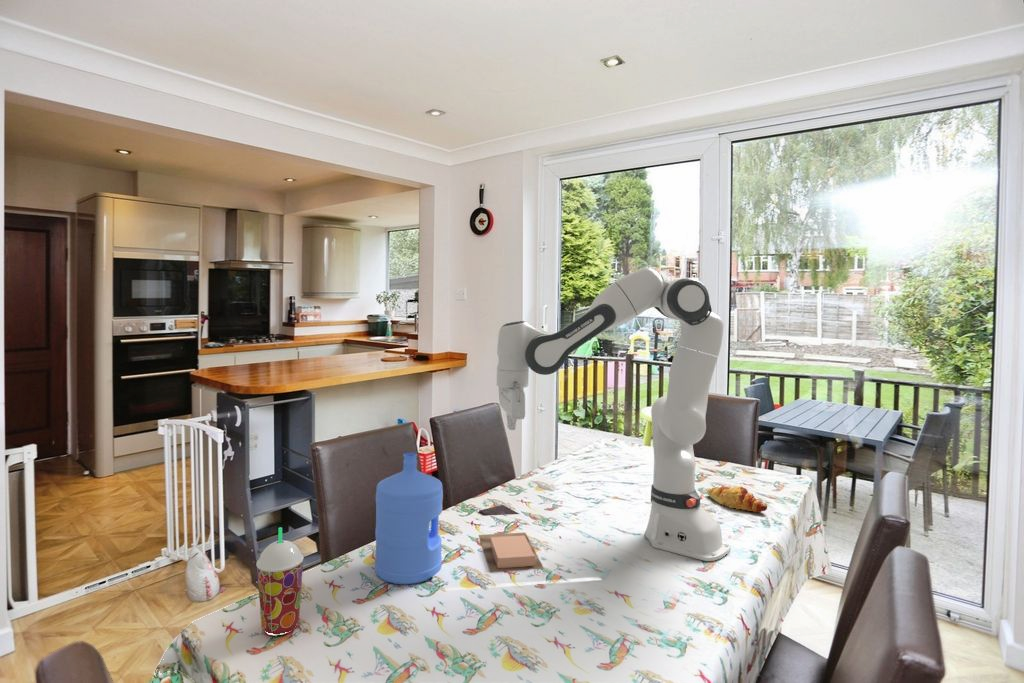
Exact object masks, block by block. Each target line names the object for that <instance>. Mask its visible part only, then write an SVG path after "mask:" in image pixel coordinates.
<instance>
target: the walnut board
mask: <svg viewBox="0 0 1024 683" xmlns="http://www.w3.org/2000/svg"><path fill="white" fill-rule="evenodd" d="M523 535H525V537H526V539H527V541H528V543H529V545H530V547H531V549H532V551H533V553H534V555H535V566H525V567H510V568H498V567H497V564H496V562H495V559H494V556H493V553H492V550H491V547H490V538H491V537H504V536H523ZM478 538H479V541H480V544H481V547H482V550H483V553H484V557H485V560H486V563H487V566H488V569H489V572H490V573H493V572H494V573H495V572H512V571H524V570H540V569H541V570H542V569H544V566H543V564H542V562H541V560H540V559H539V556H538V554H537V553H536V550H535V549H534V546H533V544H532V543H531V541H530V539H529V537H528V534H527V533H526V532H511V533H510V532H509V533H508V532H507V533H491V534H490V533H489V534H478Z"/></svg>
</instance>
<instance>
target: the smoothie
mask: <svg viewBox="0 0 1024 683" xmlns="http://www.w3.org/2000/svg"><path fill="white" fill-rule="evenodd" d="M277 531H278V532H277V534H278V540H277V541H273V542H272V543H270V544H269V545H267V546H266V547H265V548H264V549H263V551H262V552H261V554H260V556H259V558H258V560H257V561H256V566H255V567H257V568H256V569H257V570H256V571H257V572H256V573H257V585H258V598H259V609H260V610H259V612H260V624H261V625H260V626H261V628H262V629H263V631H264V630H265V631H266V632H268V633H273V634H280V633H285V632H289V631H291V630H293V629H294V628H295V626H296V627H297V625H296V624H299V621H300V617H301V616H300V612H301V601H302V597H301V596H302V586H303V585H302V581H303V567H304V554H303V553H302V552H301V550H300V548H299V547H298V546H297V545H296V544H295V543H294V542H292V541H290V540H286V539H285V540H284V539H283V527H278V530H277ZM295 629H296V628H295ZM295 629H294V630H295ZM294 630H293V631H294ZM265 631H264V632H265Z"/></svg>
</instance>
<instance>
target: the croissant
mask: <svg viewBox="0 0 1024 683" xmlns="http://www.w3.org/2000/svg"><path fill="white" fill-rule="evenodd" d="M706 492H707V495H708V496H709V497H710V498H711V499H712V500H713V501H715V502H716V503H718V504H719V505H721V504H722V505H721V506H724V505H726V506H725V507H728V506H730V507H732V508H731V509H733V508H736V509H735V510H739V509H742V510H741V511H745V510H748V511H747V512H749V511H753V512H752V513H762V512H766V510H767V509H768V505H767V504H766V503H765V504H764V503H763V502H762V501H761V500H760V499H757V498H756V497H755V496H754V494H753V493H751V492H749V491H748V489H747V488H746V487H744V486H741V485H737V486H732V487H731V486H730V487H729V486H721V487H715V486H714V487H712V488H708V489H707V490H706ZM730 507H729V508H730Z"/></svg>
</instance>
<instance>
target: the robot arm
mask: <svg viewBox="0 0 1024 683" xmlns="http://www.w3.org/2000/svg"><path fill="white" fill-rule="evenodd" d="M651 308H654V309H655V310H657V311H658V312H659V313H660V314H661V315H662V316H664V317H665V318H669V319H671V320H672V319H673V320H676V321H678V322H679V324H680V336H679V338H678V342H677V345H676V348H675V351H674V355H673V358H672V361H671V364H670V368H669V371H668V386H667V392H666V395H663V396H660V397H659V398H657V399H656V400H655V401H654V402H653V403H652V406H651V410H650V411H651V412H650V413H651V428H652V429H651V430H652V432H651V433H652V434H651V435H652V436H651V437H652V447H653V478H652V480H653V481H652V484H651V488H650V489H651V490H650V503H651V504H650V512H649V518H648V523H647V526H646V528H645V533H644V536H645V537H646V539H647V540H648V541H649V542H650V546H651V547H653V548H656V549H660V550H663V551H666V552H670V553H674V554H678V555H681V556H686V557H689V558H692V559H696V560H697V559H698V560H701V561H704V562H712V561H713V562H714V561H717V560H720V559H723V558H724V557H725V555H726V554H727V555H728V554H729V553H730V552H729V551H731V544H730V542H728V541H727V540H724V539H723V536H722V535H723V534H722V529H721V525H720V524H719V522H718V521H717V520H716V519H715V518H714V517H712V515H711V514H710V513H709V512H707V510H706V509H705V508H704V507H703V506H702V505H701V500H703V499H704V497H703V496H704V494H703V493H702V494H700V495H699V494H698V493H697V490H696V488H695V483H696V482H695V481H696V464H697V460H696V456H695V453H694V445H695V444H697V443H699V442H700V441H701V440H702V439H703V438H704V436H705V434H706V431H707V423H706V422H707V421H706V415H707V408H708V403H709V402H708V400H709V392H710V386H711V382H712V380H713V379H712V378H713V375H714V372H715V368H716V365H717V362H718V358H719V355H720V351H721V348H722V343H723V337H724V328H725V327H724V326H725V325H724V322H723V319H722V318H721V317H720V316H719V315H717V314H716V313H715V312H712V311H713V309H712V306H711V302H710V294H709V291H708V289H707V287H706V285H704V284H703V283H702V282H701V281H700V280H698V279H695V278H691V277H685V278H684V277H683V278H676V279H673V280H669V281H667V280H664V279H663V278H662V276H661V275H660V274H659V273H658V271H656V270H655V269H653V268H651V267H641V268H639V269H637V270H635V271H633V272H630V273H628V274H626V275H624V276H622V277H621V278H619V279H617V280H616V281H614V282H613V283H611V284H610V285H609V286H607V287H606V288H604V289H603V290H602V291H601V292H600V293H598V295H597V296H596V297H595V298H594V299H593V301H592V303H591V305H590V307H589V308H588V309H587V310H586V311H585V313H583V314H582V315H581V316H580V317H578V318H577V319H575V320H574V321H572V322H571V323H570V324H568V325H567V326H565V327H563V328H562V329H560V330H559V331H557V332H554V333H552V334H549V333H547V332H543V331H541V330H539V329H537V328H535V327H533V326H532V325H531V324H529V323H528V322H527V321H525V320H520V321H513V322H509V323H508V322H507V323H505V324H503V325H502V326H501V327H500V328H499V331H498V337H497V350H496V351H497V353H496V354H497V359H498V360H497V362H498V363H497V366H496V386H497V387H498V400H499V405H500V408H501V409H502V410H503V411H504V412H505V413H506V415H505V416H506V421H507V423H506V425H507V428H508V430H510V431H514V430H516V428H517V427H516V425H517V420H524V419H525V418H526V394H525V393H526V392H525V390H524V388H527V387H528V386H529V372H530V371H529V369H530V370H531V371H532V372H534V373H536V374H539V375H543V376H544V375H545V376H548V375H552V374H554V373H556V372H558V371H559V369H561V367H562V366H563V364H564V363H565V361H566V360H567V358H568V356H570V354H571V353H573V352H574V351H576V350H577V349H579V348H580V347H581V346H583V345H584V344H586V343H587V342H589V341H590V340H591V339H593V338H595V337H596V336H598V335H600V334H602V333H604V332H608V331H609V330H612V329H614V328H617V327H619V326H623V324H626V323H628V322H629V321H632V320H633V319H635V318H636V317H637V316H639V315H640V314H642V313H644V312H645V311H646V310H649V309H651ZM727 555H726V556H727ZM723 556H724V557H723Z"/></svg>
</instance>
